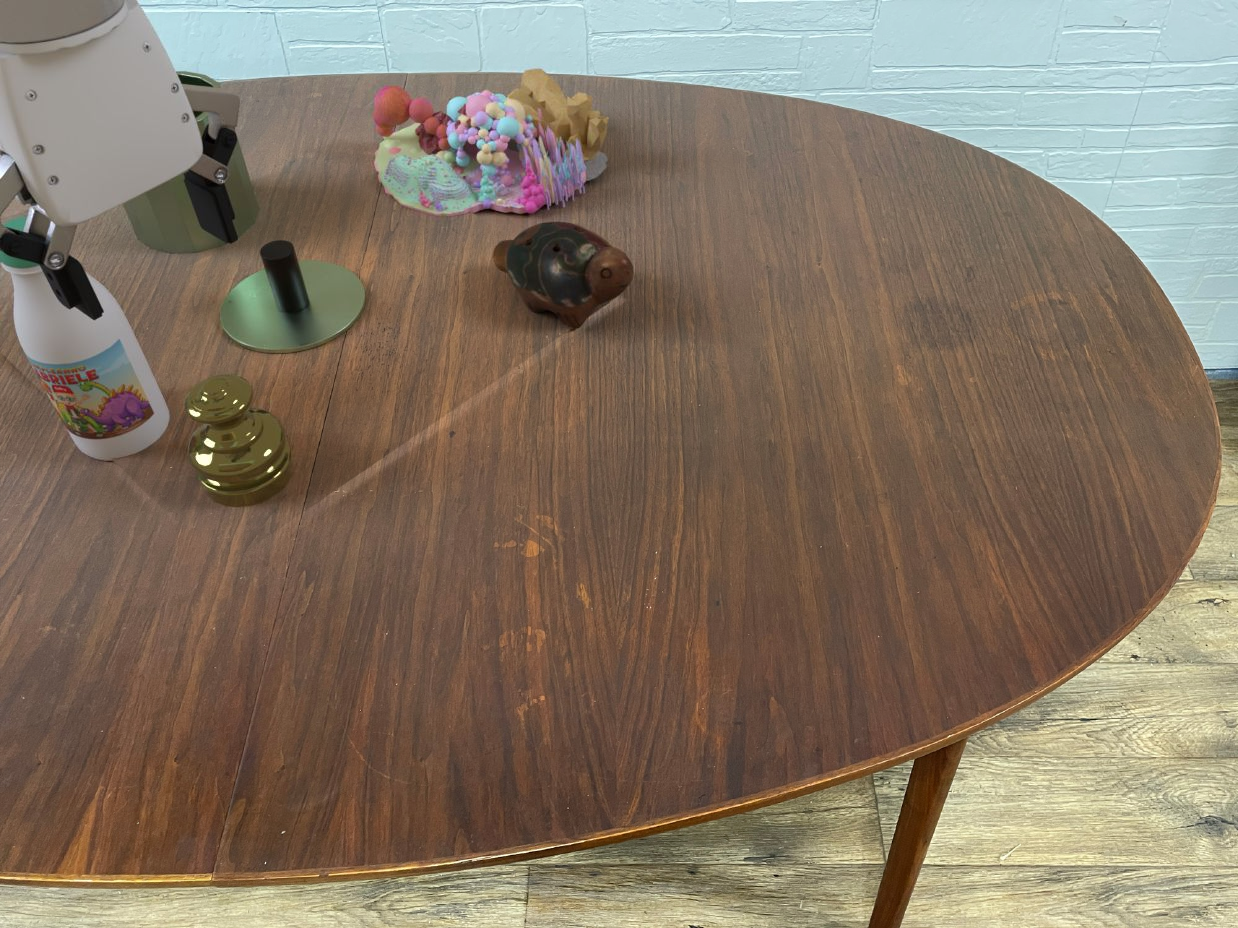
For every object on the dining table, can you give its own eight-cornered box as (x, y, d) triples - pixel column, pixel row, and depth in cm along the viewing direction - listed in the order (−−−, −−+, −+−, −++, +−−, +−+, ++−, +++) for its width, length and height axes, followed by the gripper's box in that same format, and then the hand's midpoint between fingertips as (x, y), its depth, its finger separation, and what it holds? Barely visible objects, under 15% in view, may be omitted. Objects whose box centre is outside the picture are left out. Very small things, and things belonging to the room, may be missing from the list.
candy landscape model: (531, 91, 127) (526, 16, 120) (646, 175, 114) (647, 96, 107) (344, 156, 118) (326, 78, 111) (446, 256, 104) (433, 175, 98)
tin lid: (277, 379, 92) (256, 316, 87) (195, 315, 98) (170, 253, 93) (396, 308, 99) (382, 246, 94) (311, 252, 105) (295, 191, 100)
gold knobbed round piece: (315, 460, 85) (285, 368, 78) (258, 523, 81) (220, 433, 73) (243, 433, 88) (207, 342, 80) (183, 494, 83) (140, 403, 76)
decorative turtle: (615, 355, 94) (606, 284, 88) (475, 317, 99) (457, 248, 93) (662, 290, 99) (656, 220, 93) (526, 258, 105) (512, 189, 99)
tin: (178, 273, 103) (129, 150, 93) (114, 225, 109) (62, 105, 99) (283, 219, 109) (248, 99, 99) (217, 177, 115) (178, 59, 105)
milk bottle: (91, 401, 90) (-14, 202, 76) (181, 396, 91) (93, 197, 76) (65, 466, 85) (-54, 266, 71) (160, 461, 86) (62, 260, 71)
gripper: (146, -76, 59) (233, 190, 71) (-169, 34, 50) (-6, 316, 62) (228, -44, 55) (303, 229, 68) (-94, 80, 46) (62, 368, 59)
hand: (155, 270), depth 65 cm, fingers open, 9 cm apart
